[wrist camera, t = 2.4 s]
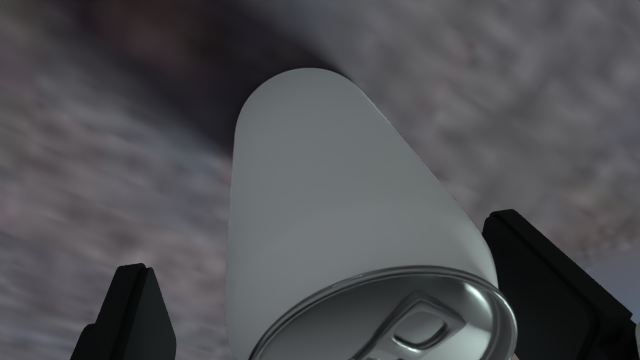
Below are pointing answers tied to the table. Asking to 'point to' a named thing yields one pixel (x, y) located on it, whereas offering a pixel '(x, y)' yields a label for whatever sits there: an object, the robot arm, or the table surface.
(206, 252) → the table surface
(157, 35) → the table surface
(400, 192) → the can
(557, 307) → the robot arm
